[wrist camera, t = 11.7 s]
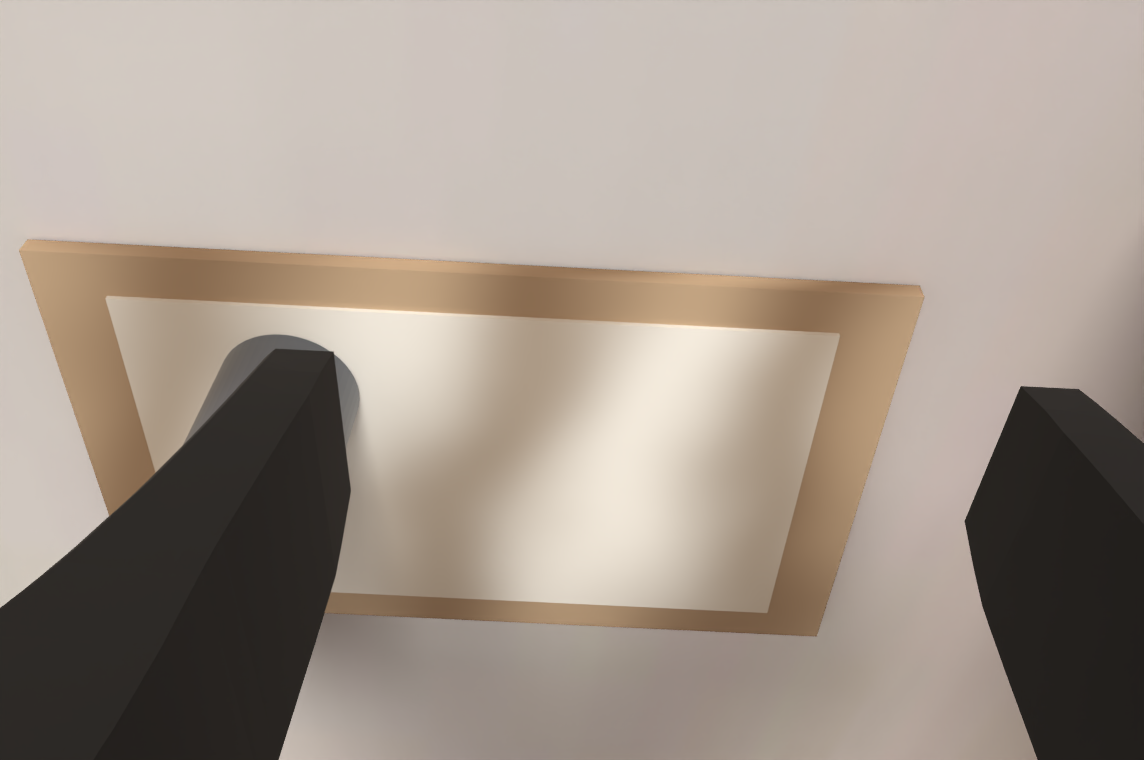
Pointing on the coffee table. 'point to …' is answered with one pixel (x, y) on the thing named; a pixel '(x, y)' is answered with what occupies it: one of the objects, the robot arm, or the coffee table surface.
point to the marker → (252, 355)
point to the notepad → (520, 421)
